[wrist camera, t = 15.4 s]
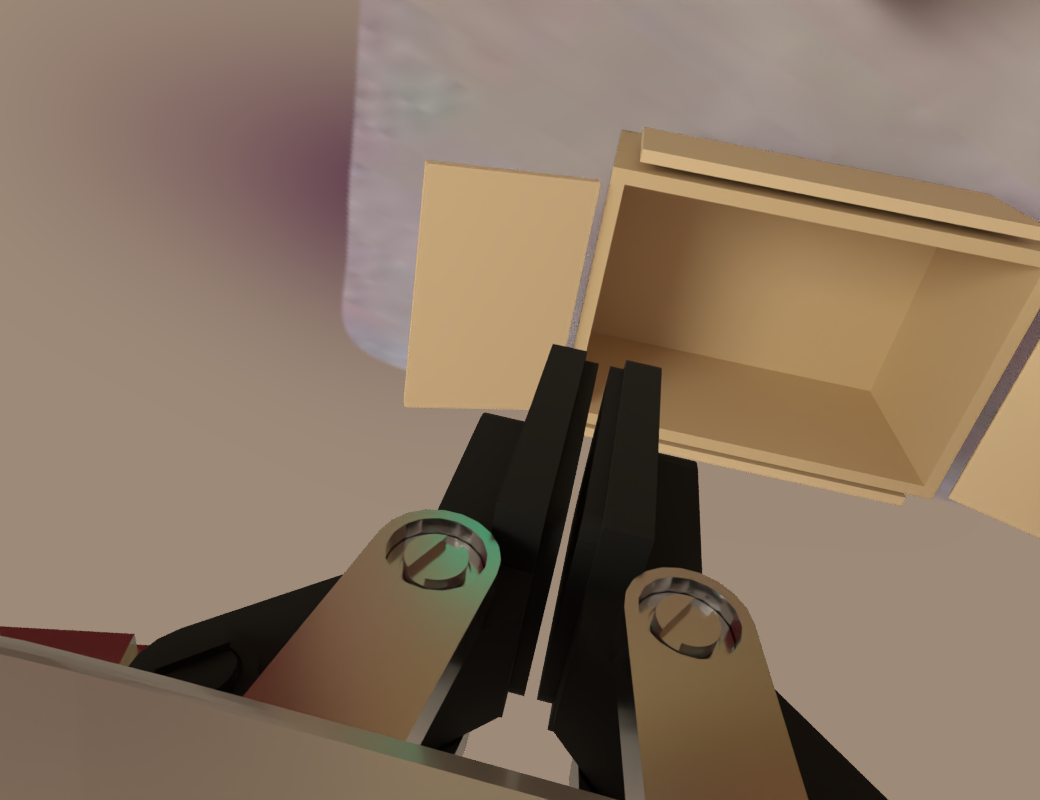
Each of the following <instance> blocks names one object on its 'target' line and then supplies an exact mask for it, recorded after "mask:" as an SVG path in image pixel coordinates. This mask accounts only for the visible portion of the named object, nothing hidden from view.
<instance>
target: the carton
mask: <svg viewBox="0 0 1040 800" xmlns="http://www.w3.org/2000/svg"><path fill="white" fill-rule="evenodd" d="M1039 309H1040V223H1039V222H1037V221H1036V220H1034V219H1032V218H1030V217H1028V216H1027V215H1025V214H1023V213H1021V212H1019V211H1018V210H1016V209H1014V208H1012V207H1010V206H1009V205H1007V204H1005V203H1003V202H1001V201H1000V200H998V199H996V198H994V197H992V196H991V195H989V194H985V193H980V192H975V191H970V190H964V189H959V188H954V187H949V186H944V185H939V184H934V183H928V182H923V181H918V180H913V179H908V178H903V177H898V176H892V175H887V174H882V173H877V172H872V171H867V170H862V169H857V168H851V167H846V166H841V165H836V164H831V163H826V162H821V161H815V160H810V159H805V158H800V157H795V156H790V155H785V154H779V153H774V152H769V151H764V150H759V149H754V148H749V147H744V146H738V145H733V144H728V143H723V142H718V141H713V140H708V139H702V138H697V137H692V136H687V135H682V134H677V133H672V132H666V131H661V130H656V129H651V128H646V127H644V130H643V134H641V133H636V132H630V131H625V130H622V132H621V136H620V140H619V145H618V149H617V153H616V157H615V162H614V166H613V171H612V175H611V180H610V184H609V189H608V193H607V198H606V203H605V207H604V212H603V216H602V221H601V225H600V230H599V235H598V239H597V244H596V248H595V253H594V257H593V262H592V267H591V271H590V276H589V280H588V285H587V289H586V294H585V299H584V303H583V308H582V312H581V317H580V321H579V326H578V331H577V335H576V340H575V344H574V348H575V349H579V350H584V351H587V356H586V361H590V362H594V363H599V367H598V371H597V376H596V381H595V386H594V390H593V395H592V400H591V404H590V409H589V414H588V419H587V423H586V428H585V433H584V436H588V437H592V438H593V434H594V430H595V426H596V422H597V418H598V414H599V410H600V405H601V401H602V397H603V393H604V389H605V385H606V381H607V377H608V373H609V369H610V366H612V367H617V368H621V369H624V365H625V362H626V360H629V361H633V362H638V363H642V364H647V365H651V366H656V367H660V368H662V380H661V403H660V426H659V449H658V452H660V453H665V454H669V455H674V456H678V457H683V458H688V459H692V460H696V461H701V462H705V463H710V464H715V465H719V466H723V467H728V468H732V469H737V470H742V471H746V472H750V473H755V474H759V475H764V476H769V477H773V478H777V479H782V480H786V481H791V482H795V483H800V484H804V485H809V486H813V487H818V488H823V489H827V490H831V491H836V492H841V493H845V494H849V495H854V496H858V497H863V498H867V499H872V500H876V501H881V502H885V503H890V504H894V505H899V506H902V504H903V502H904V501H905V499H906V497H905V495H904V493H905V494H910V495H915V496H919V497H923V498H928V499H932V498H933V496H934V494H935V493H936V491H937V489H938V487H939V486H940V484H941V482H942V480H943V479H944V477H945V475H946V473H947V471H948V470H949V468H950V466H951V464H952V463H953V461H954V459H955V457H956V456H957V454H958V452H959V450H960V448H961V447H962V445H963V443H964V441H965V440H966V438H967V436H968V434H969V433H970V431H971V429H972V427H973V425H974V424H975V422H976V420H977V418H978V417H979V415H980V413H981V411H982V410H983V408H984V406H985V404H986V402H987V401H988V399H989V397H990V395H991V394H992V392H993V390H994V388H995V387H996V385H997V383H998V381H999V379H1000V378H1001V376H1002V374H1003V372H1004V371H1005V369H1006V367H1007V365H1008V364H1009V362H1010V360H1011V358H1012V356H1013V355H1014V353H1015V351H1016V349H1017V348H1018V346H1019V344H1020V342H1021V341H1022V339H1023V337H1024V335H1025V334H1026V332H1027V330H1028V328H1029V326H1030V325H1031V323H1032V321H1033V319H1034V318H1035V316H1036V314H1037V312H1038V311H1039Z"/></svg>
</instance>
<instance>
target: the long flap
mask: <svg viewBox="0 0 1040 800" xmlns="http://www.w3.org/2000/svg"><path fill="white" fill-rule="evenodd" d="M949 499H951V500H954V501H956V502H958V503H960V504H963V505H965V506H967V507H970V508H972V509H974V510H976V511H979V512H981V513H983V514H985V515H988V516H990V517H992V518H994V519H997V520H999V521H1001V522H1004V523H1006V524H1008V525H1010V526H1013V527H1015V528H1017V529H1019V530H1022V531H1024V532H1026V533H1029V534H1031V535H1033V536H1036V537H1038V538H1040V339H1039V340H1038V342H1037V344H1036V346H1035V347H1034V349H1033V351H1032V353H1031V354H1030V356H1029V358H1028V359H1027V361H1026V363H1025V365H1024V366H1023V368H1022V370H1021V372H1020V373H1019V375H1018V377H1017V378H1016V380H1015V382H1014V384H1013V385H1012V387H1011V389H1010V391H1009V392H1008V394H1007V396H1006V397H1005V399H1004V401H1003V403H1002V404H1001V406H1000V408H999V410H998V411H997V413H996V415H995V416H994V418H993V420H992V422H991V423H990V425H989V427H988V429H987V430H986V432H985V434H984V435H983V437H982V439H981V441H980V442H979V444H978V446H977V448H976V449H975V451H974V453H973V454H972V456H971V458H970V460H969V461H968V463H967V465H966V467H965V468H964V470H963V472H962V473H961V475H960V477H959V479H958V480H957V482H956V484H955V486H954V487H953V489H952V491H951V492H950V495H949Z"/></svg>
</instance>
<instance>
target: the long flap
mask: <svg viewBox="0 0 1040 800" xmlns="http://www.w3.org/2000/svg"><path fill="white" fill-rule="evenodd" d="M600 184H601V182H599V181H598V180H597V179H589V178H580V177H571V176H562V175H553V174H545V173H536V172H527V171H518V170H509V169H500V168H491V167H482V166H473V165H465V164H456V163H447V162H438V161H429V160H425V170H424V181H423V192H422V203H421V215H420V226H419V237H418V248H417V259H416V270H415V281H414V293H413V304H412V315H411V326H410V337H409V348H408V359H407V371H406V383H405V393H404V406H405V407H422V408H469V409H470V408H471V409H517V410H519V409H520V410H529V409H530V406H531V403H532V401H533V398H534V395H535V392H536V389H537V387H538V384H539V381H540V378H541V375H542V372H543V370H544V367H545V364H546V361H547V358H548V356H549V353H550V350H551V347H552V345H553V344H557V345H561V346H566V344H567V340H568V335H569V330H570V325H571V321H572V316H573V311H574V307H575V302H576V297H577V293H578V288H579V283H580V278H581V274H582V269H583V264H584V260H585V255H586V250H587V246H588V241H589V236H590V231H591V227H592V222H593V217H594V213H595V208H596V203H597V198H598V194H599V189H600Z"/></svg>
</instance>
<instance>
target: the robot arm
mask: <svg viewBox="0 0 1040 800" xmlns="http://www.w3.org/2000/svg"><path fill="white" fill-rule="evenodd" d="M586 356H587V351H584V350H579V349H575V348H570V347H566V346H561V345H557V344H553V345H552V347H551V350H550V353H549V356H548V358H547V361H546V364H545V367H544V370H543V372H542V375H541V378H540V381H539V384H538V387H537V389H536V392H535V395H534V398H533V401H532V403H531V406H530V409H529V412H528V415H527V417H526V420H525V422H524V421H520V420H515V419H511V418H507V417H502V416H498V415H494V414H489V413H483V414H482V416H481V418H480V420H479V422H478V424H477V426H476V429H475V431H474V433H473V435H472V437H471V439H470V441H469V444H468V446H467V448H466V450H465V452H464V454H463V457H462V459H461V461H460V463H459V465H458V467H457V470H456V472H455V474H454V476H453V478H452V481H451V482H450V485H449V487H448V489H447V491H446V493H445V495H444V498H443V500H442V502H441V504H440V506H439V509H438V510H421V511H416V512H410V513H406V514H404V515H402V516H400V517H397V518H395V519H393V520H391V521H390V522H389V523H388V524H387V525H385V526H384V527H383V528H382V529H381V530H380V531H379V532H378V533H377V534H376V535H375V537H374V538H373V539H372V540H371V541H370V543H369V544H368V545H367V546H366V547H365V549H364V550H363V551H362V553H361V554H360V555H359V556H358V557H357V558H356V560H355V561H354V562H353V563H352V564H351V566H350V567H349V568H348V570H347V571H346V572H345V573H344V574H343V575H340V576H337V577H334V578H331V579H328V580H325V581H322V582H319V583H316V584H313V585H310V586H307V587H304V588H301V589H298V590H295V591H292V592H289V593H286V594H283V595H280V596H277V597H274V598H271V599H268V600H265V601H262V602H259V603H256V604H253V605H250V606H247V607H244V608H241V609H238V610H235V611H232V612H229V613H226V614H223V615H220V616H217V617H214V618H211V619H208V620H205V621H202V622H199V623H196V624H193V625H190V626H187V627H184V628H181V629H179V630H176V631H174V632H172V633H170V634H168V635H166V636H164V637H161V638H159V639H157V640H156V641H155V642H153V643H152V644H151V645H136V639H135V634H128V633H110V632H93V631H92V632H91V631H75V630H57V629H40V628H38V629H37V628H22V627H4V626H0V800H887V798H886V797H885V796H884V795H883V794H882V793H880V791H879V790H877V789H876V788H875V787H874V786H873V785H872V784H871V783H870V782H869V781H868V780H867V779H866V778H865V777H864V776H863V775H862V774H861V773H860V772H859V771H858V770H857V769H856V768H855V767H854V766H853V765H852V764H851V763H850V762H849V761H848V760H847V759H846V758H845V757H844V756H843V755H842V754H841V753H839V751H837V750H836V749H835V748H834V747H833V746H832V745H831V744H830V743H829V742H828V741H827V740H826V739H825V738H824V737H823V736H822V735H821V734H820V733H819V732H818V731H817V730H816V729H815V728H814V727H813V726H812V725H811V724H810V723H809V722H808V721H807V720H806V719H805V718H804V717H803V716H802V715H801V714H800V713H799V712H798V711H796V710H795V709H794V708H793V707H792V706H791V705H790V704H789V703H788V702H787V701H786V700H785V699H784V698H783V697H782V696H781V695H780V694H779V693H778V692H777V691H776V690H775V689H774V685H773V682H772V679H771V676H770V672H769V669H768V666H767V662H766V659H765V656H764V653H763V650H762V646H761V643H760V640H759V636H758V633H757V630H756V626H755V624H754V622H753V620H752V618H751V616H750V614H749V611H748V609H747V608H746V607H745V606H744V604H743V603H742V602H741V601H740V600H739V599H738V598H737V596H736V595H735V594H734V593H732V592H731V591H730V590H728V589H727V588H726V587H724V586H723V585H722V584H720V583H719V582H717V581H715V580H713V579H711V578H709V577H707V576H705V575H703V574H702V561H701V560H702V559H701V535H700V511H699V489H698V488H699V486H698V468H697V463H696V462H695V461H691V460H687V459H683V458H679V457H674V456H670V455H666V454H662V453H658V449H659V426H660V403H661V380H662V368H660V367H656V366H651V365H647V364H642V363H638V362H633V361H629V360H626V362H625V365H624V369H621V368H617V367H612V366H610V369H609V373H608V377H607V381H606V385H605V389H604V393H603V397H602V401H601V405H600V410H599V414H598V418H597V422H596V426H595V430H594V434H593V438H592V442H591V447H590V451H589V455H588V459H587V463H586V467H585V471H584V475H583V479H582V483H581V488H580V491H579V495H578V500H577V504H576V508H575V512H574V517H573V521H572V526H571V531H570V536H569V541H568V546H567V552H566V556H565V562H564V566H563V571H562V576H561V581H560V586H559V591H558V596H557V602H556V606H555V611H554V616H553V622H552V627H551V631H550V636H549V642H548V647H547V652H546V656H545V662H544V666H543V671H542V676H541V682H540V686H539V691H538V697H537V700H541V701H545V702H548V703H552V708H551V714H550V719H549V725H548V730H550V731H553V732H554V733H555V734H556V736H557V737H558V738H559V740H560V741H561V742H562V744H563V745H564V747H565V748H566V749H567V751H568V752H569V753H570V755H571V756H572V758H573V760H572V763H571V769H570V776H569V786H566V785H562V784H559V783H555V782H552V781H548V780H544V779H541V778H537V777H534V776H530V775H526V774H522V773H519V772H515V771H512V770H508V769H504V768H501V767H497V766H494V765H490V764H486V763H482V762H479V761H476V760H472V759H468V758H465V757H462V755H463V753H464V751H465V748H466V744H467V740H468V737H469V732H470V731H472V730H474V729H476V728H478V727H480V726H482V725H484V724H486V723H488V722H490V721H492V720H494V719H496V718H498V717H502V715H503V711H504V707H505V702H506V698H507V694H508V692H511V693H515V694H519V695H522V696H524V694H525V690H526V685H527V681H528V677H529V672H530V668H531V664H532V660H533V656H534V652H535V648H536V644H537V639H538V635H539V631H540V627H541V622H542V618H543V614H544V610H545V605H546V601H547V597H548V593H549V589H550V585H551V581H552V576H553V572H554V568H555V564H556V559H557V555H558V551H559V547H560V543H561V539H562V534H563V530H564V525H565V521H566V517H567V512H568V508H569V503H570V498H571V494H572V489H573V484H574V479H575V475H576V470H577V465H578V461H579V456H580V451H581V447H582V442H583V437H584V433H585V428H586V423H587V419H588V414H589V409H590V404H591V400H592V395H593V390H594V386H595V381H596V376H597V371H598V367H599V363H594V362H590V361H586Z"/></svg>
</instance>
